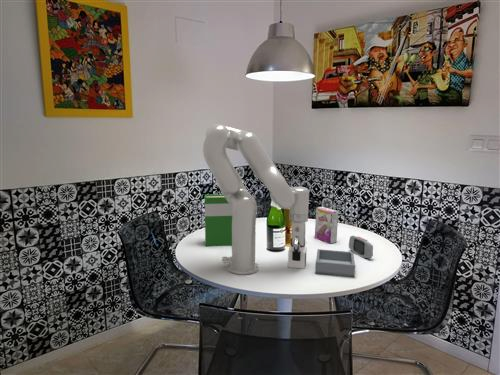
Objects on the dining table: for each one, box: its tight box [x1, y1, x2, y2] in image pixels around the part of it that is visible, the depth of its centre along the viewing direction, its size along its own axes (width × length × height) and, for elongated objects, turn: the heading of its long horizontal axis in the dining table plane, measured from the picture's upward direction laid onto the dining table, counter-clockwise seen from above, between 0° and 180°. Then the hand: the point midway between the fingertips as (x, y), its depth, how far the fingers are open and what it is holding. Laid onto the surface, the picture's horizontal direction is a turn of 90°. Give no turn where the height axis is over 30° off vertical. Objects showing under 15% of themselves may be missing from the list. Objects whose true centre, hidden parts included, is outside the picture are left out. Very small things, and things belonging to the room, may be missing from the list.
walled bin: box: [315, 248, 356, 279], centre depth 151 cm, size 15×15×5 cm
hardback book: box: [204, 193, 233, 247], centre depth 179 cm, size 18×7×24 cm, turn 97°
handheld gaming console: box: [348, 235, 374, 259], centre depth 166 cm, size 14×3×8 cm, turn 24°
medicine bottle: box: [287, 237, 308, 269], centre depth 154 cm, size 7×7×12 cm
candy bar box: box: [314, 206, 339, 245], centre depth 185 cm, size 11×5×16 cm, turn 34°
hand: (297, 256), depth 154 cm, fingers open, 9 cm apart
